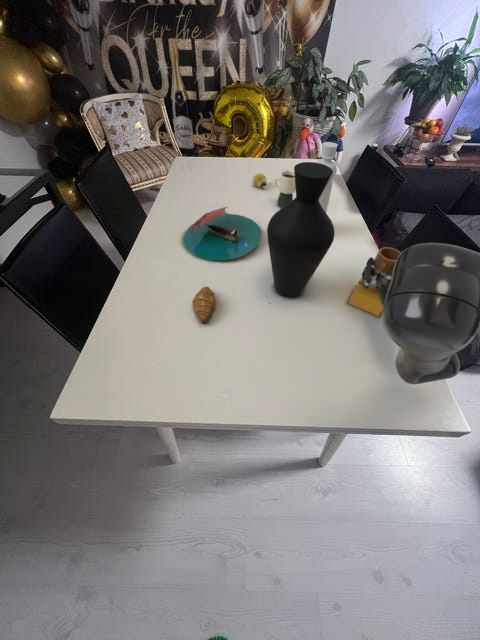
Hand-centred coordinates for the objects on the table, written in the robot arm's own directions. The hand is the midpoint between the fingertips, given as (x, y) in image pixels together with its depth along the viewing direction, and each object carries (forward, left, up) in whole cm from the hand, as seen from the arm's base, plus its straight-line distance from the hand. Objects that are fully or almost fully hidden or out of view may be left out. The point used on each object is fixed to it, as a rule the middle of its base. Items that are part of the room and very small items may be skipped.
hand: (382, 261), depth 81 cm
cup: (-1, +2, -6) cm, 6 cm away
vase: (+21, +11, -13) cm, 27 cm away
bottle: (+29, -22, -13) cm, 38 cm away
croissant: (+37, +32, -13) cm, 50 cm away
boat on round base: (+53, +1, -13) cm, 54 cm away
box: (-1, +2, -13) cm, 13 cm away
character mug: (+46, -34, -13) cm, 58 cm away
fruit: (+63, -43, -13) cm, 77 cm away
